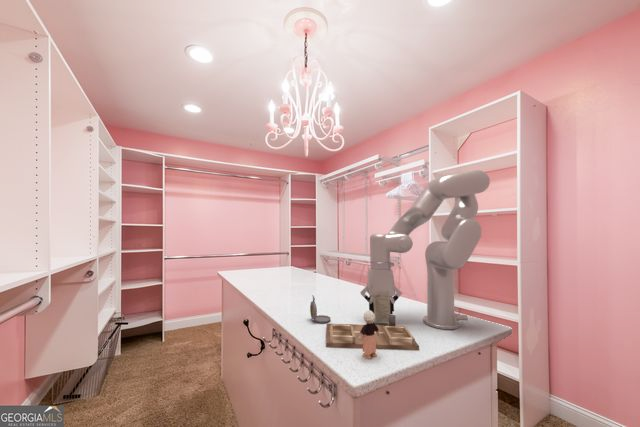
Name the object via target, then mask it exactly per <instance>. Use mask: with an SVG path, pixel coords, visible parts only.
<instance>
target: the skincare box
mask: <svg viewBox="0 0 640 427" xmlns="http://www.w3.org/2000/svg"><path fill="white" fill-rule="evenodd" d="M373 304H374V315H375V319H374V320H373V323H375V324H377V323H378V324H379V323H380V324H382V323H386V324H389V315H392V314H390V294H389V290H388V291H387V292H385V293H383V294H380V295H376V296H373Z"/></svg>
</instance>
